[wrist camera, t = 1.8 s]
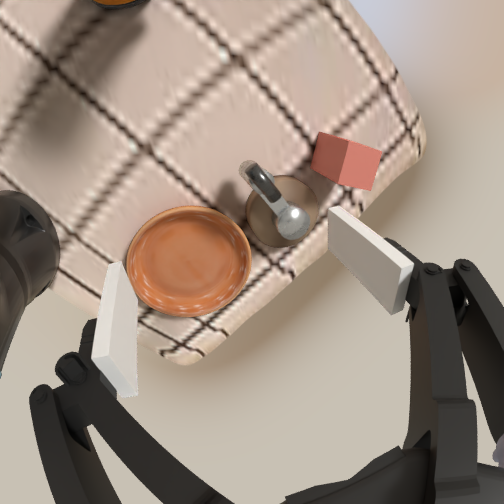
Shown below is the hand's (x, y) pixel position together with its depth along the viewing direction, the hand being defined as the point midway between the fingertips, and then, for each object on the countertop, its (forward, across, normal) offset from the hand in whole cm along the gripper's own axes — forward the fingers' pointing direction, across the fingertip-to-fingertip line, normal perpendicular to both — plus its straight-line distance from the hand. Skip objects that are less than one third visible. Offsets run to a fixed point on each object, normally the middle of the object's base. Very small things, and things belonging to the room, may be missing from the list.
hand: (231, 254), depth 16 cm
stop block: (+20, +18, -1) cm, 27 cm away
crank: (+17, +8, -4) cm, 19 cm away
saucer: (+21, -3, -12) cm, 24 cm away
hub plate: (+20, +10, -8) cm, 24 cm away
